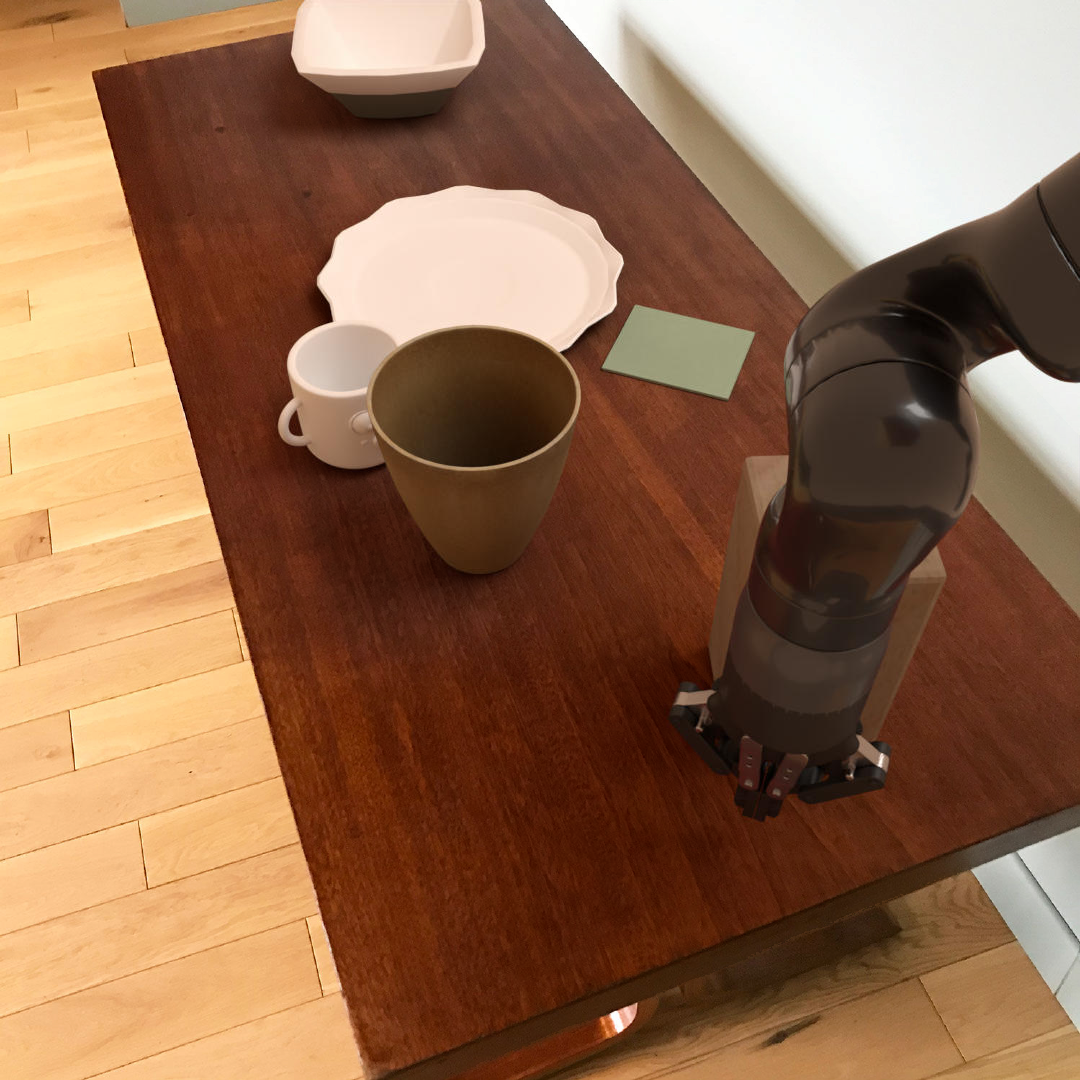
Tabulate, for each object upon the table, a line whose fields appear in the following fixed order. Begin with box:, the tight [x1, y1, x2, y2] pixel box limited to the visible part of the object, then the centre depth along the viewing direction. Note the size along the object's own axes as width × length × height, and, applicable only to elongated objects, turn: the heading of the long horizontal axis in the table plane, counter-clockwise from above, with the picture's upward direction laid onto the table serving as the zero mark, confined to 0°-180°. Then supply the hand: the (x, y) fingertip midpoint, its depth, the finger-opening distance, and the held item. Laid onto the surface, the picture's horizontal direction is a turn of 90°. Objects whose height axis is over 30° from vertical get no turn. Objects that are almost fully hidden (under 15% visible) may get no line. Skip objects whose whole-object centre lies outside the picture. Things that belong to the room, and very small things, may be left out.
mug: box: [277, 320, 403, 470], centre depth 93 cm, size 12×10×9 cm
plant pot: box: [366, 325, 582, 575], centre depth 83 cm, size 15×15×16 cm
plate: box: [316, 185, 625, 354], centre depth 110 cm, size 29×29×2 cm
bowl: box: [290, 0, 486, 119], centre depth 133 cm, size 22×23×8 cm
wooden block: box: [707, 454, 947, 742], centre depth 72 cm, size 10×10×20 cm
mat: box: [601, 304, 756, 402], centre depth 104 cm, size 12×10×1 cm
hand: (756, 806), depth 70 cm, fingers closed
